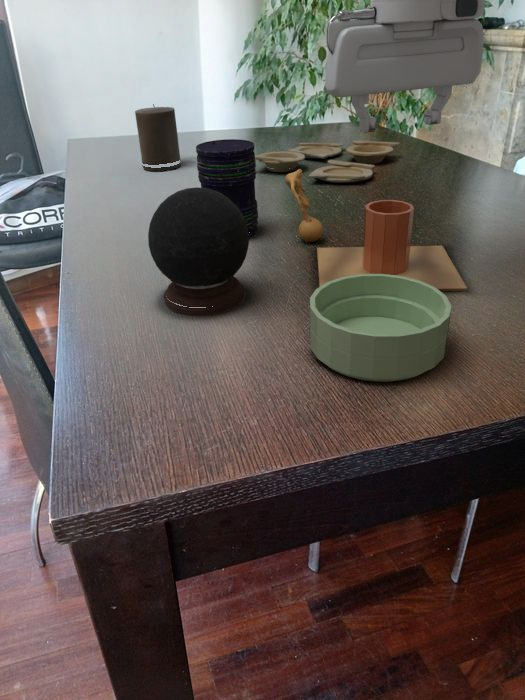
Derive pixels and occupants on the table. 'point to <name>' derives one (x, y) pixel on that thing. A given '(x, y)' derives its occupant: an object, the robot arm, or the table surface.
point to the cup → (387, 236)
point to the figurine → (304, 209)
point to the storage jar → (231, 174)
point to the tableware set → (339, 169)
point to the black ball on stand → (199, 250)
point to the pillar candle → (158, 137)
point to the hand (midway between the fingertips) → (399, 127)
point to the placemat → (423, 266)
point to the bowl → (379, 326)
